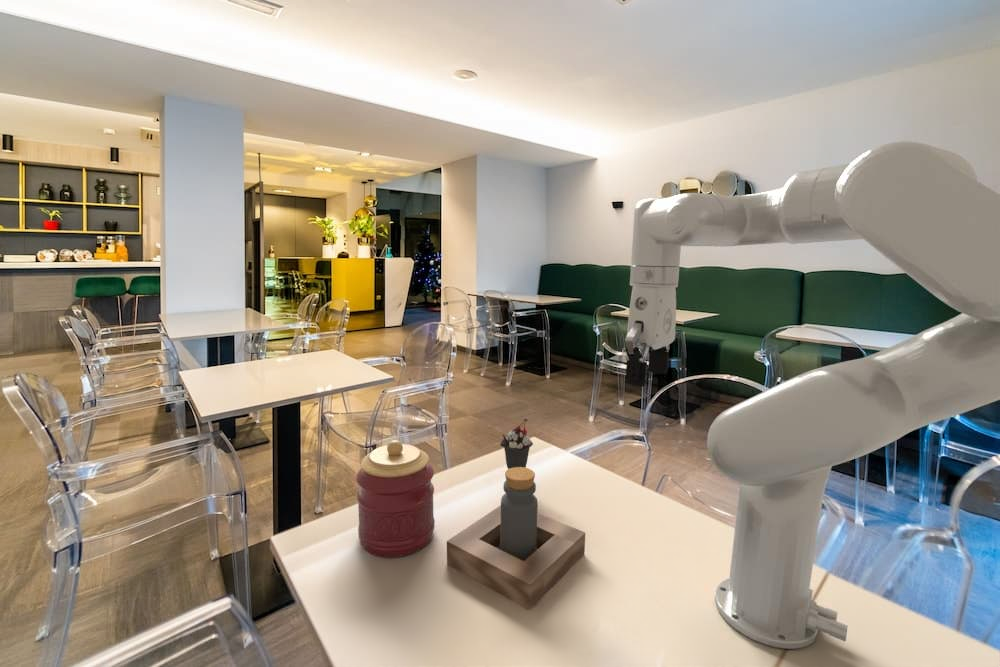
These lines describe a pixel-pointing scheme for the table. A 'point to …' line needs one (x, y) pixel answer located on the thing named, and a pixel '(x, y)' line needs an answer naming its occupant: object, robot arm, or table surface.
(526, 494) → the bottle
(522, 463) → the sundae
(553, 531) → the collar block
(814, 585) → the table surface
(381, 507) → the canister
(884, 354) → the robot arm
